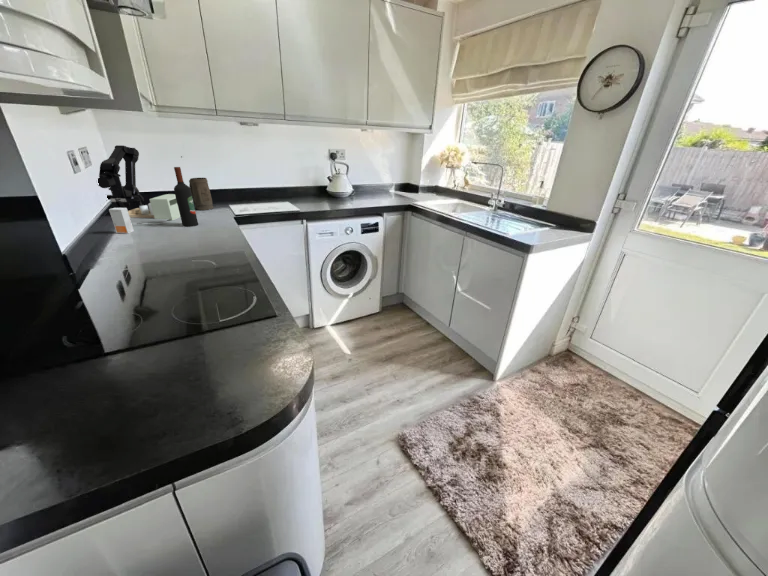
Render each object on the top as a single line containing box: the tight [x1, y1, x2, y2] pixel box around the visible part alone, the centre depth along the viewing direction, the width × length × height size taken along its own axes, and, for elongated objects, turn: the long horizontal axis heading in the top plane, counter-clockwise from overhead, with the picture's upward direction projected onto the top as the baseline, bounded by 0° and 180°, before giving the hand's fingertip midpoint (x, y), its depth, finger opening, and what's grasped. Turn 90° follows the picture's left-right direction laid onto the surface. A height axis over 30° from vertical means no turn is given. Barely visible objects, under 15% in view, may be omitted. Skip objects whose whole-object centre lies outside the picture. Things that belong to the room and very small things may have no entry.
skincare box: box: [108, 207, 135, 235], centre depth 159 cm, size 6×4×12 cm
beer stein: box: [188, 177, 215, 211], centre depth 212 cm, size 15×11×20 cm
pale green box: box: [149, 193, 181, 222], centre depth 190 cm, size 17×10×12 cm, turn 3°
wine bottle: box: [173, 166, 199, 228], centre depth 171 cm, size 8×8×30 cm
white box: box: [147, 202, 154, 215], centre depth 190 cm, size 4×4×7 cm
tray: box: [128, 208, 155, 219], centre depth 191 cm, size 12×18×4 cm, turn 93°
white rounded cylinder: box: [139, 204, 150, 215], centre depth 192 cm, size 4×4×5 cm
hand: (124, 213), depth 190 cm, fingers closed
